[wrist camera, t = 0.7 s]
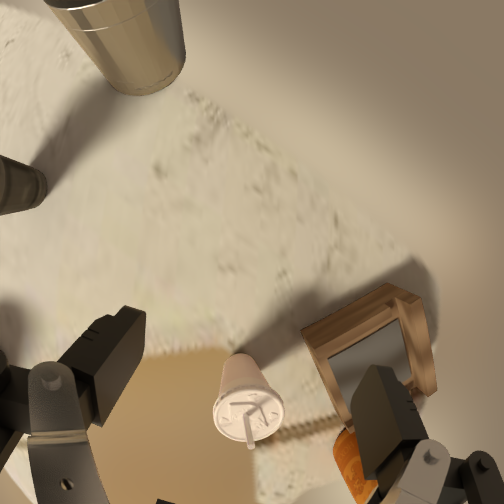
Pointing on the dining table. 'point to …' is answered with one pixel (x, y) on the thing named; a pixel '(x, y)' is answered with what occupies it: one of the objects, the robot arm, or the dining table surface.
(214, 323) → the dining table surface
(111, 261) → the dining table surface
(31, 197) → the beverage cup
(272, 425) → the smoothie
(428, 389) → the brown wooden tray
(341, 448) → the wine bottle
